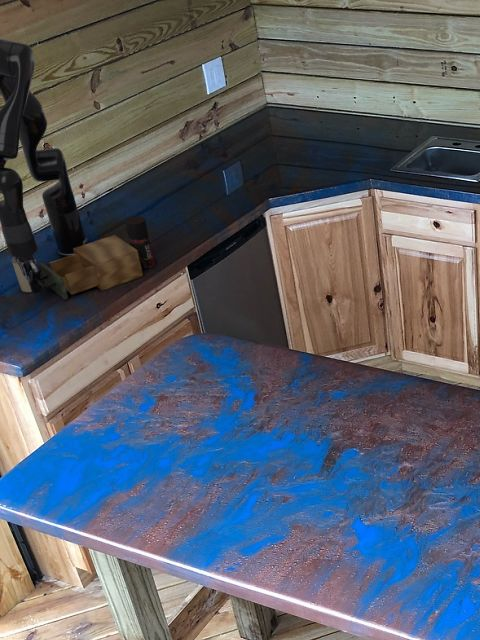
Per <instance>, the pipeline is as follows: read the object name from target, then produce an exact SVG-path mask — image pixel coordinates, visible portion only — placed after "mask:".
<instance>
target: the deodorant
mask: <svg viewBox="0 0 480 640" xmlns="http://www.w3.org/2000/svg"><path fill="white" fill-rule="evenodd" d="M124 223H125V228H126V232H127V236H128V240H129V241H128V242H129V245H130V246H132V247H133V248H135V249H136V250H137V252H138V256H139V260H140V265H141V269H142V270H148V269H151V268H153V267H155V265H156V262H155V258H154V257H155V256H154V253H153V248H152V245H151V241H150V235H149V231H148V226H147V221H146V219H145V217H144V216H132V217H128V218H127V219H125V221H124Z"/></svg>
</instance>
